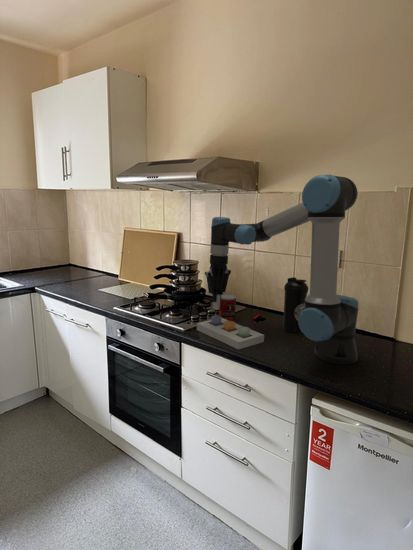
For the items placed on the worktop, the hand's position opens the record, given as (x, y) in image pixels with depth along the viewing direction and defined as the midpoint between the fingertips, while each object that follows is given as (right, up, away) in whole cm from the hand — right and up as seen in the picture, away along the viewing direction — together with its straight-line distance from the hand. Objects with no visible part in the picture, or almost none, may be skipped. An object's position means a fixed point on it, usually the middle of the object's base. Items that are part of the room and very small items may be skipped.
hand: (216, 308), depth 166 cm
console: (+5, -11, -5) cm, 13 cm away
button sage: (+11, -10, -12) cm, 19 cm away
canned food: (+5, -7, +17) cm, 19 cm away
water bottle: (+34, -10, +6) cm, 36 cm away
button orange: (+5, -9, -5) cm, 11 cm away
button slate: (0, -7, +1) cm, 7 cm away
